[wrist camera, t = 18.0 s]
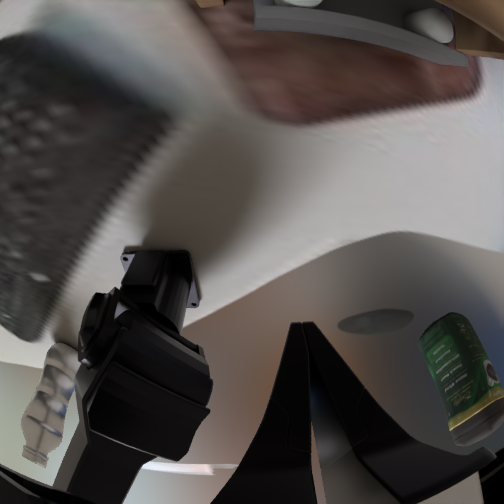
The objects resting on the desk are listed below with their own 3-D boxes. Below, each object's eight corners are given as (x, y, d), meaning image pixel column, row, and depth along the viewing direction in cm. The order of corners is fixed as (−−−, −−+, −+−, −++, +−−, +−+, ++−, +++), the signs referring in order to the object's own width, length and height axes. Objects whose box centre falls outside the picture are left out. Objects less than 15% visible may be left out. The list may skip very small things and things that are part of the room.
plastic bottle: (61, 356, 35) (27, 458, 18) (47, 332, 31) (3, 444, 14) (92, 366, 35) (63, 476, 19) (80, 343, 32) (41, 467, 15)
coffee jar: (407, 342, 32) (447, 458, 17) (447, 304, 28) (504, 424, 13) (438, 349, 35) (474, 444, 20) (472, 317, 31) (518, 414, 15)
